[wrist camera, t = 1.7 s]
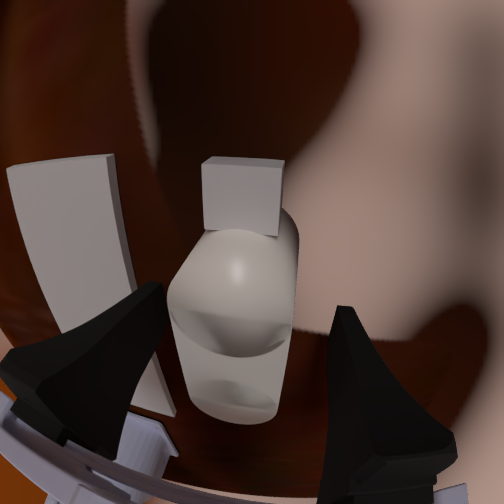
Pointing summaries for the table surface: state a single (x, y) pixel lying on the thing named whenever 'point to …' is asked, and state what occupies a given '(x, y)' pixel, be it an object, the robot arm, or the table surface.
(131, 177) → the table surface
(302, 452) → the table surface
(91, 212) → the grey mat
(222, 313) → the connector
